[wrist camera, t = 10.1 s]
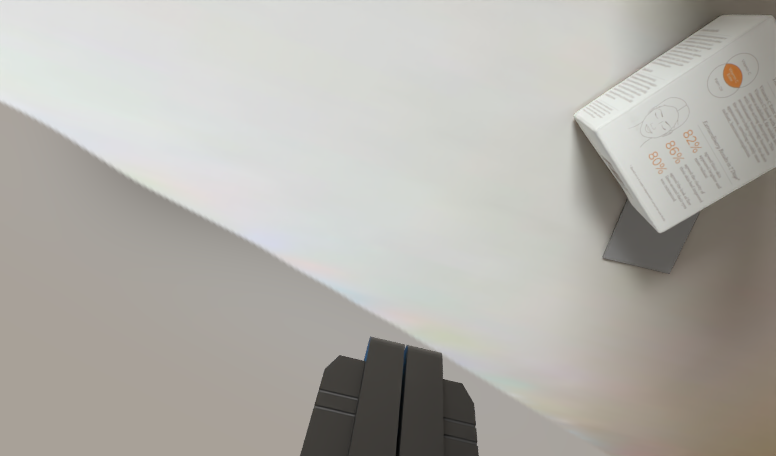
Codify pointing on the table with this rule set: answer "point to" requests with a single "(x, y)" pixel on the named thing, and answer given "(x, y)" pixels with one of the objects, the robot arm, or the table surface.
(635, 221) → the charcoal mat
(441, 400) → the robot arm
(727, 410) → the table surface
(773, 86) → the small box
